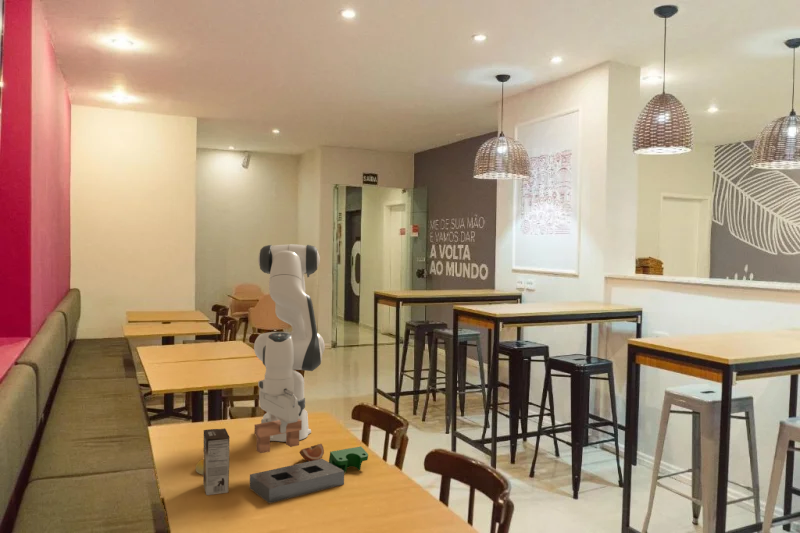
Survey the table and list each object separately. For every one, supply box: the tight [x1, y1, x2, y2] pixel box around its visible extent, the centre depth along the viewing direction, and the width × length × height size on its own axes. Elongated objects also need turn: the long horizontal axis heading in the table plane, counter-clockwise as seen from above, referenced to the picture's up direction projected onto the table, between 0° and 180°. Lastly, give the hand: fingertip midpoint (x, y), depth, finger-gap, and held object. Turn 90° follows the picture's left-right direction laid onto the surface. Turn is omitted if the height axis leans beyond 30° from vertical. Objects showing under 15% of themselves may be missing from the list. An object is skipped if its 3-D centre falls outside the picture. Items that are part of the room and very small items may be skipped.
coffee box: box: [202, 428, 230, 496], centre depth 174 cm, size 9×6×16 cm
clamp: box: [328, 446, 369, 474], centre depth 191 cm, size 12×6×9 cm, turn 116°
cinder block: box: [249, 458, 345, 504], centre depth 176 cm, size 13×24×4 cm, turn 128°
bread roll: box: [195, 458, 204, 475], centre depth 188 cm, size 8×9×4 cm
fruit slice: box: [299, 443, 325, 462], centre depth 198 cm, size 8×7×5 cm
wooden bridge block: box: [254, 419, 302, 454], centre depth 187 cm, size 4×14×8 cm, turn 127°
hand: (278, 429), depth 187 cm, fingers closed on wooden bridge block, 4 cm apart
